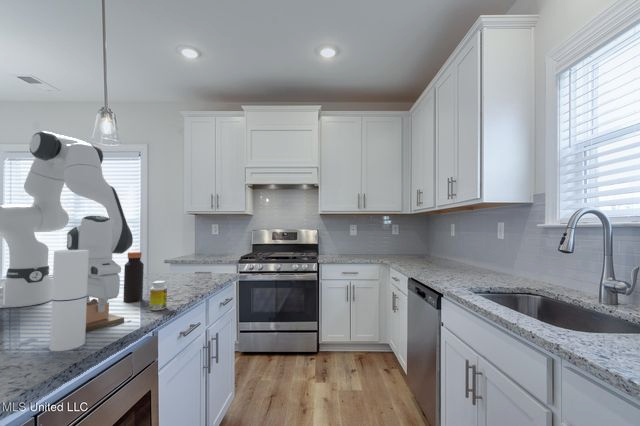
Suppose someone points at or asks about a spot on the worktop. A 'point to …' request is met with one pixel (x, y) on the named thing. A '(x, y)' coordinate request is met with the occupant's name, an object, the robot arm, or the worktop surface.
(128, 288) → the vinegar
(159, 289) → the supplement bottle
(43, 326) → the worktop surface
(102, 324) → the pin stand
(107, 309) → the light brown block
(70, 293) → the cylindrical container
